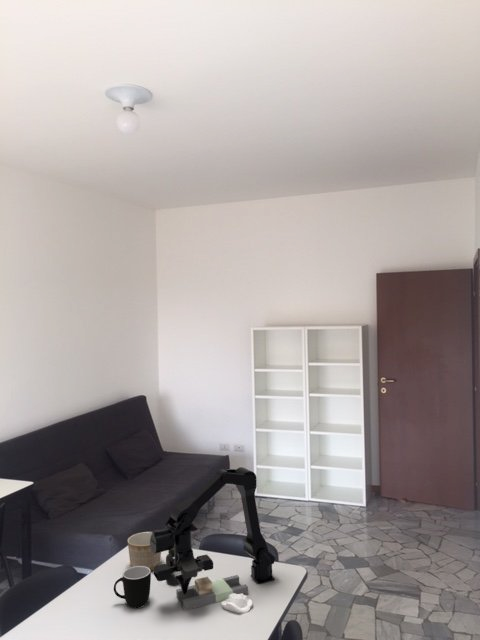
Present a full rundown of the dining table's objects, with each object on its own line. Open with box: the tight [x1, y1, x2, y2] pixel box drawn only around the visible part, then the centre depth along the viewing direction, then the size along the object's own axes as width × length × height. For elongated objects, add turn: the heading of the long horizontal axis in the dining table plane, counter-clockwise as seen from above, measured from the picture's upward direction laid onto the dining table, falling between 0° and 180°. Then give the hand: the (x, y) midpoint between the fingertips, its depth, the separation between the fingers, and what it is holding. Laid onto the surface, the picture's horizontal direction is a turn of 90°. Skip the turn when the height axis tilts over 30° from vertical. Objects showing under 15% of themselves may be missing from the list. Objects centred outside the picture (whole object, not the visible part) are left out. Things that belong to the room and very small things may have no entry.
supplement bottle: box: [165, 548, 180, 586], centre depth 186 cm, size 7×7×12 cm
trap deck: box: [175, 574, 249, 611], centre depth 176 cm, size 22×9×2 cm, turn 114°
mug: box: [113, 566, 152, 609], centre depth 172 cm, size 12×9×10 cm
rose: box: [220, 593, 254, 614], centre depth 169 cm, size 10×4×10 cm
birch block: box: [194, 576, 212, 595], centre depth 175 cm, size 4×4×3 cm
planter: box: [127, 531, 162, 572], centre depth 198 cm, size 13×13×10 cm
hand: (184, 593), depth 172 cm, fingers closed
